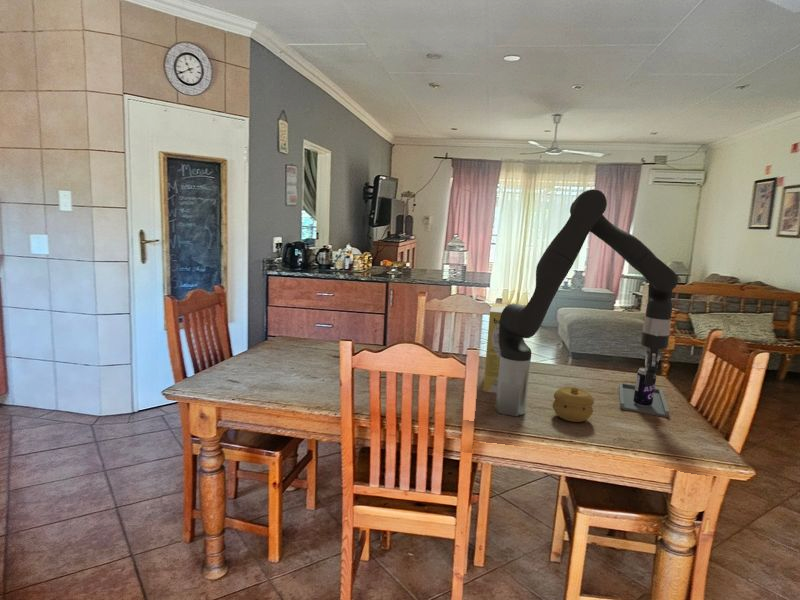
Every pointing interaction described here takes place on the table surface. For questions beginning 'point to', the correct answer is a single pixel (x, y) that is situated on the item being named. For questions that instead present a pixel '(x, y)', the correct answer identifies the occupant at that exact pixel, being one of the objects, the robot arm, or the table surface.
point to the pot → (573, 404)
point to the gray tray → (628, 404)
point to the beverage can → (643, 390)
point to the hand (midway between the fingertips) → (648, 385)
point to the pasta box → (493, 349)
